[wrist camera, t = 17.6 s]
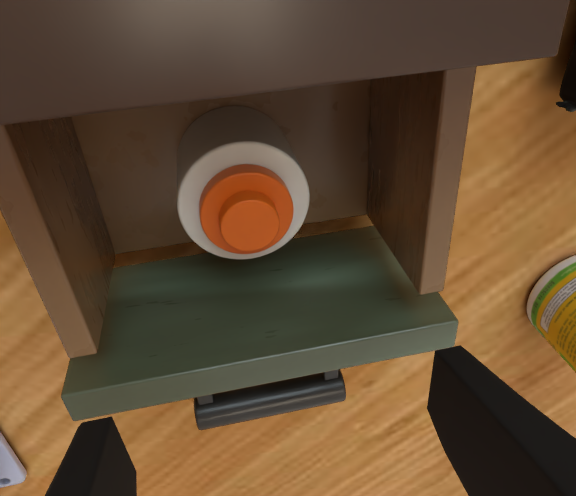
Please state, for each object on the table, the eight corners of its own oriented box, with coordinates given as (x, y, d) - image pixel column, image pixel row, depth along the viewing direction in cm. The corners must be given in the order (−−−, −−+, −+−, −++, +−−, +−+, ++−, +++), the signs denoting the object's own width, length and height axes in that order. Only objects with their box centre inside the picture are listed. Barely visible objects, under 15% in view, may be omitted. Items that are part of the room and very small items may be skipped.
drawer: (383, 325, 24) (439, 434, 19) (128, 372, 22) (114, 504, 17) (412, -152, 13) (553, -199, 8) (-55, -122, 12) (-224, -156, 7)
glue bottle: (188, 217, 17) (191, 294, 14) (165, 113, 15) (162, 171, 12) (292, 201, 18) (322, 272, 14) (285, 98, 16) (317, 149, 12)
